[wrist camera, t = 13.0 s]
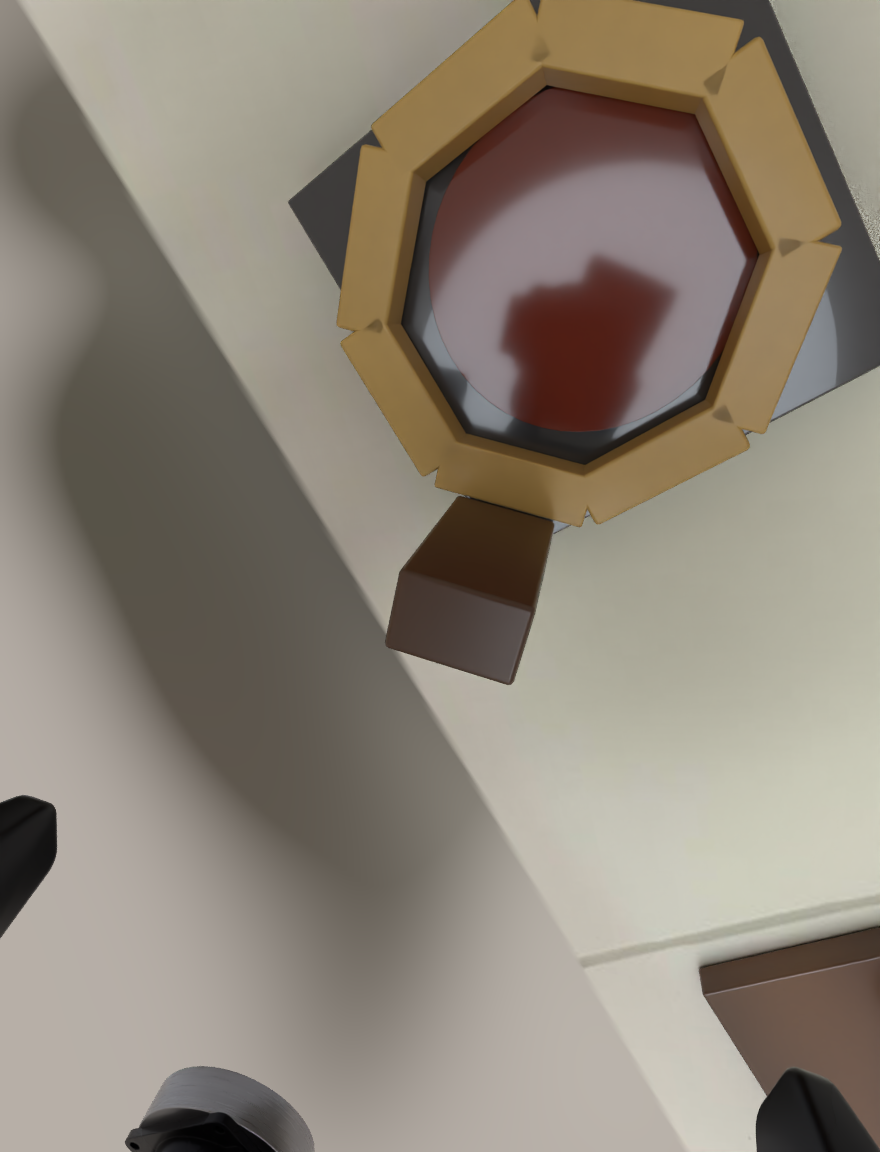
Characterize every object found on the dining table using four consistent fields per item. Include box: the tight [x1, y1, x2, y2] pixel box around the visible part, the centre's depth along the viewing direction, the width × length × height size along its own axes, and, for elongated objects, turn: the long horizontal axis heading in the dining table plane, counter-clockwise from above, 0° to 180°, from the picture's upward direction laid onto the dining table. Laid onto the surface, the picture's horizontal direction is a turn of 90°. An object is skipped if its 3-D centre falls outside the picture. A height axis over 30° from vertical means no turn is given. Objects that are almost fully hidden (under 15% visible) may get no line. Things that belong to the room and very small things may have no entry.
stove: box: [288, 0, 880, 534], centre depth 15 cm, size 10×10×2 cm
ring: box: [336, 0, 842, 685], centre depth 12 cm, size 10×11×6 cm
